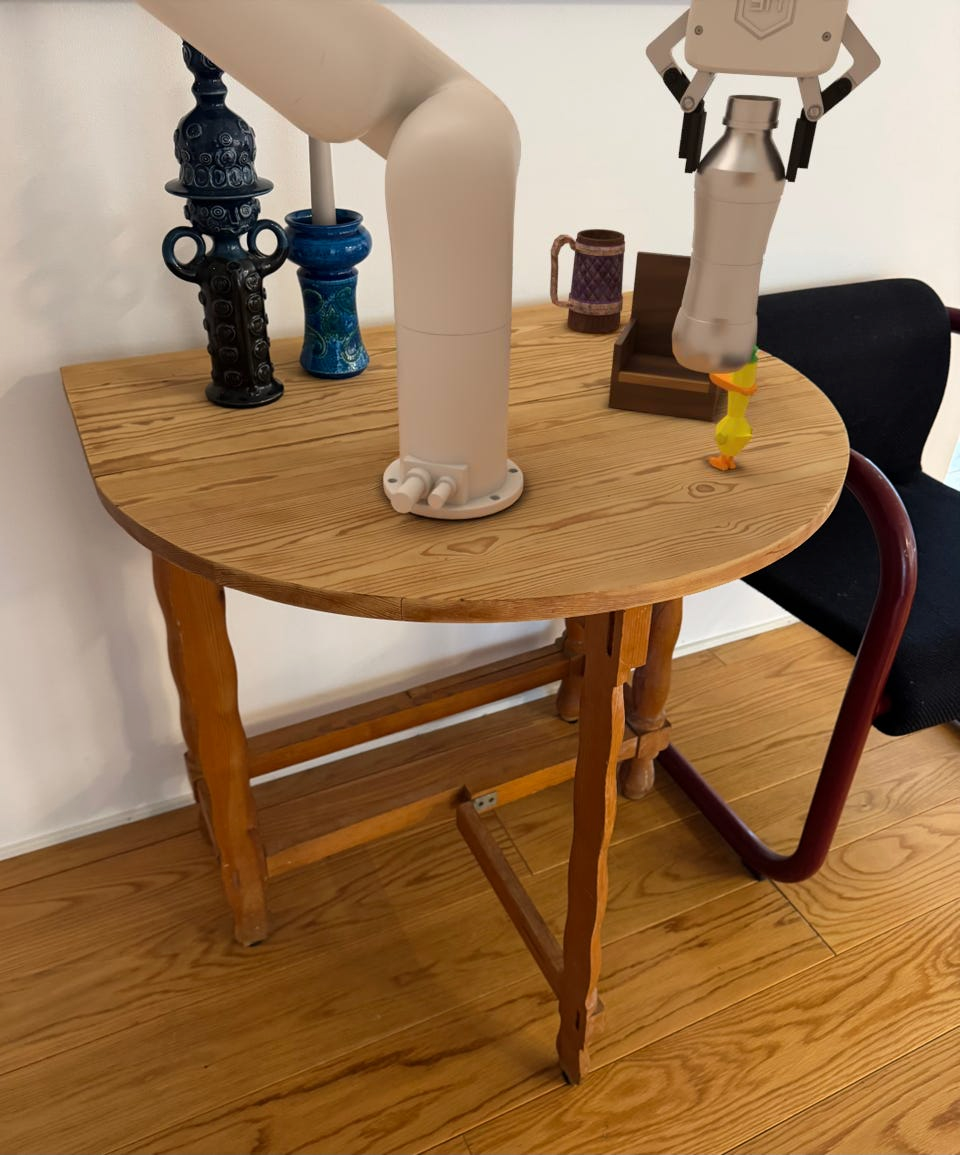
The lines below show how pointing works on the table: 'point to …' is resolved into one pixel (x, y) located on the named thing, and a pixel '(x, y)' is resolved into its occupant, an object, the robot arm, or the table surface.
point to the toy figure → (734, 413)
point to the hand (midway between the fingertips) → (741, 172)
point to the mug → (592, 280)
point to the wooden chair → (658, 347)
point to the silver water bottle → (730, 238)
